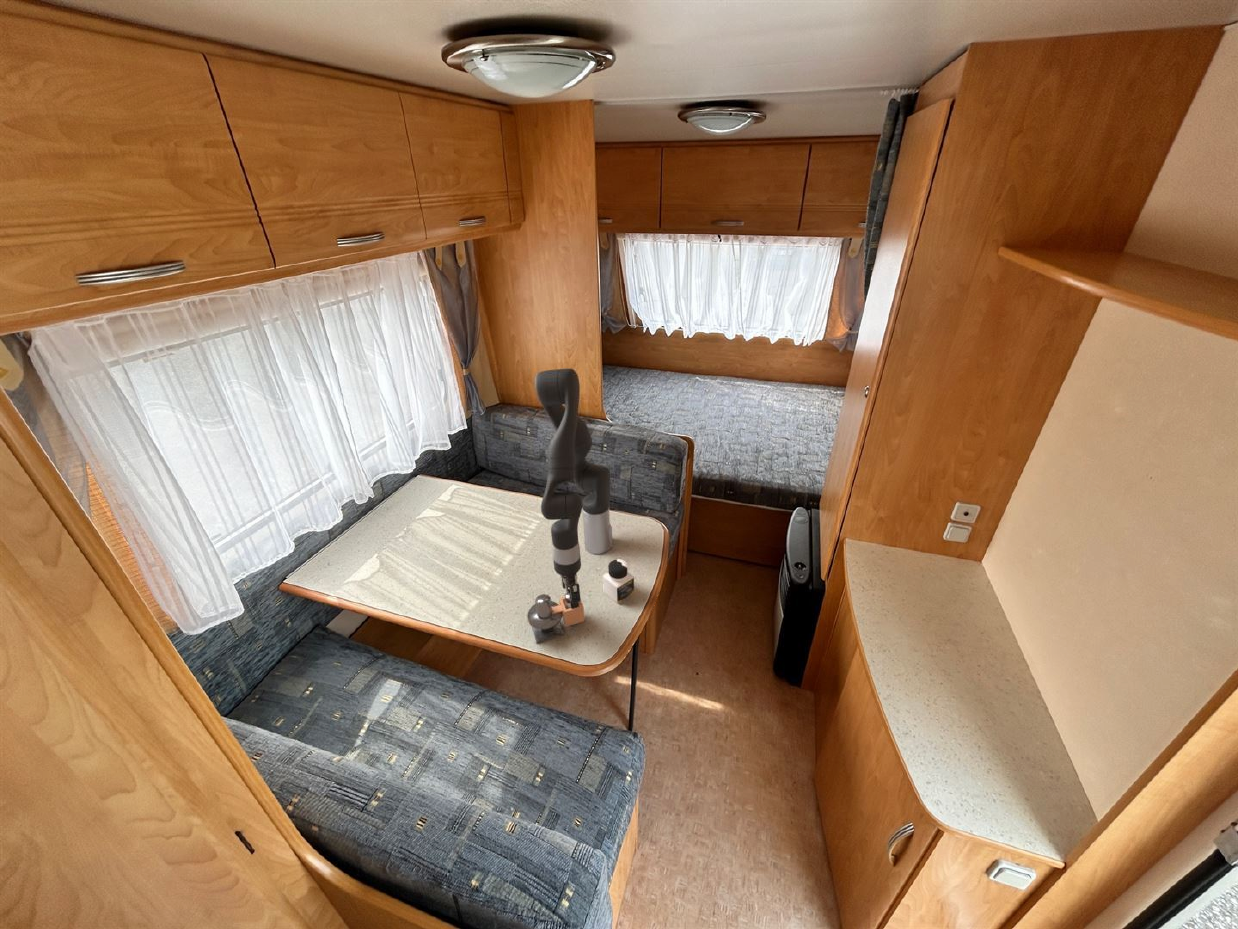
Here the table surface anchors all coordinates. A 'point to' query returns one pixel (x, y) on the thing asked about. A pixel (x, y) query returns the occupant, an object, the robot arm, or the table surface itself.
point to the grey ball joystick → (544, 619)
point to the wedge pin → (568, 603)
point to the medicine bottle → (618, 581)
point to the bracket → (569, 612)
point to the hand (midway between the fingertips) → (570, 597)
